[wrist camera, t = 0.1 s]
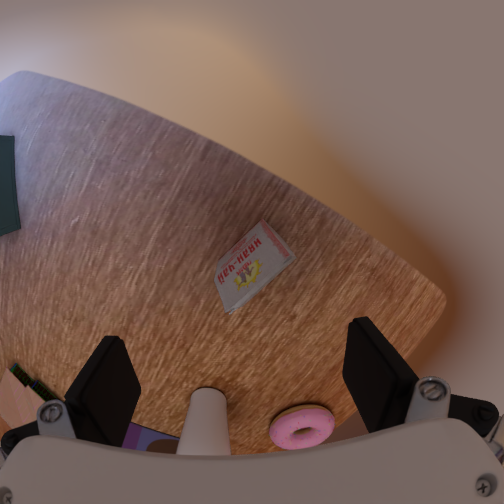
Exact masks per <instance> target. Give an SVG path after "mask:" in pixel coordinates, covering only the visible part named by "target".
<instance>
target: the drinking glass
mask: <svg viewBox="0 0 504 504" xmlns="http://www.w3.org/2000/svg"><path fill="white" fill-rule="evenodd" d="M176 454H180V455H207V456H219V455H231V447H230V439H229V430H228V420H227V401H226V397H225V396H224V394H223V393H221V392H220V391H218V390H216V389H213V388H200V389H198V390H196V391H194V392H193V394H192V395H191V399H190V404H189V408H188V412H187V415H186V419H185V422H184V426H183V429H182V433H181V436H180V439H179V443H178V447H177V451H176Z"/></svg>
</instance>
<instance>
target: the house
mask: <svg viewBox="0 0 504 504" xmlns="http://www.w3.org/2000/svg"><path fill="white" fill-rule="evenodd" d="M16 364H17V363H16ZM16 364H15V365H14V366H13V367H12V368H11V370H9V369H8V368H7V367H6V369H5V372H4V375H3V377H2V380H1V383H0V415H1V417H2V418H3V419H4V420H5V421H6V423H7V424H8V425H9V426H10V427H11V428H12V429H14V428H17V427H20V426H22V425H25V424H28V423H30V422H33V421H35V420H37V411H38V408H39V407H40V406H41V405H42V404H43V403H45V402H46V401H45V400H44V399H43V398H42V397H41V396H40V395H39V394H38V393H37V392H35V391H34V390H33V389H32V388H33V387H35V386H34V385H35V384H36V383H37V381H38V380H37V381H36V383H35V384H34V385H33V386H32V388H30V387H29V386H28V385H29V384H28V383H27V382H25V383H27V384H28V385H27V387H25V386H24V385H23V384H22V383H21V382H20V381H19V380H18V379H17V378H16V377H15V376H16V375H17V374H18V373H17V374H16V375H14V374H13V372H14V371H15V370H16V369H15V370H14V368H15V366H16ZM17 365H18V364H17ZM18 366H19V365H18ZM19 367H20V366H19ZM20 368H21V367H20ZM21 369H22V368H21ZM21 369H20V370H21ZM22 374H23V373H22ZM22 374H21V375H22ZM18 375H19V374H18ZM19 376H20V375H19ZM20 377H21V376H20ZM21 378H22V377H21ZM29 378H30V377H29ZM29 378H28V379H29ZM22 379H24V378H22ZM31 382H32V381H31ZM31 382H30V383H31ZM38 382H39V381H38ZM39 384H41V383H40V382H39ZM39 384H38V385H39ZM41 386H43V385H42V384H41ZM43 387H44V386H43ZM36 388H37V387H35V389H36ZM44 389H45V388H44ZM38 390H39V389H38ZM41 393H42V392H41ZM46 393H47V392H46ZM51 394H52V393H51ZM43 395H44V394H43ZM52 395H53V394H52ZM44 396H45V395H44ZM49 396H50V395H49ZM53 397H55V396H54V395H53ZM46 398H47V397H46ZM55 398H56V397H55ZM47 399H48V398H47ZM48 400H49V399H48ZM56 400H57V399H56Z"/></svg>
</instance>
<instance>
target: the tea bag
mask: <svg viewBox="0 0 504 504" xmlns="http://www.w3.org/2000/svg"><path fill="white" fill-rule="evenodd" d="M295 259H296V256H295V255H294V253H293V252H292V251H291V249H290V248H289V246H288V245H287V244H286V242H285V241H284V240H283V239H282V238H281V237H280V236H279V235H278V234H277V233H276V232H275V231H274V230H273V228H272V227H271V226H270V225H269V224H268V223H267V222H266V221H265V220H264V219H263V218H262V219H261V220H260V221H259V222H258V223H257V224H256V225H255V226H254V227H253V228H252V229H251V230H250V231H248V232H247V233H246V234H245V235H244V236H243V237H242V238H241V239H240V240H239V241H238V242H237V243H236V244H235V245H234V246H233V247H232V248H231V249H230V250H229V251H228V252H227V253H226V254H225V255H224V256H222V257H221V258H220V259H219V260H218V264H217V269H216V273H215V278H214V282H215V284H216V287H217V289H218V292H219V295H220V297H221V300H222V303H223V306H224V310H225V313H226V312H228V311H230V310H231V312H230V314H231V313H232V312H233V311H235V310H236V309H238V308H240V307H242V306H244V305H245V304H246V303H247V302H248V301H249V300H250V299H251V298H253V297H254V296H255V295H256V294H257V293H258V292H259V291H260V290H262V289H263V288H264V287H265V286H266V285H267V284H268V283H269V282H271V281H272V280H273V279H274V278H275V277H276V276H277V275H278V274H279V273H280V272H282V271H283V270H284V269H285V268H286V267H287V266H288V265H289V264H290V263H291V262H292V261H294V260H295ZM230 314H229V315H230Z"/></svg>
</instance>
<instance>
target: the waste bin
mask: <svg viewBox="0 0 504 504" xmlns="http://www.w3.org/2000/svg"><path fill="white" fill-rule="evenodd" d="M18 229H21V226H20V219H19V212H18V205H17V196H16V185H15V168H14V136H3V135H0V236H2V235H4V234H7V233H10V232H12V231H15V230H18Z"/></svg>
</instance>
